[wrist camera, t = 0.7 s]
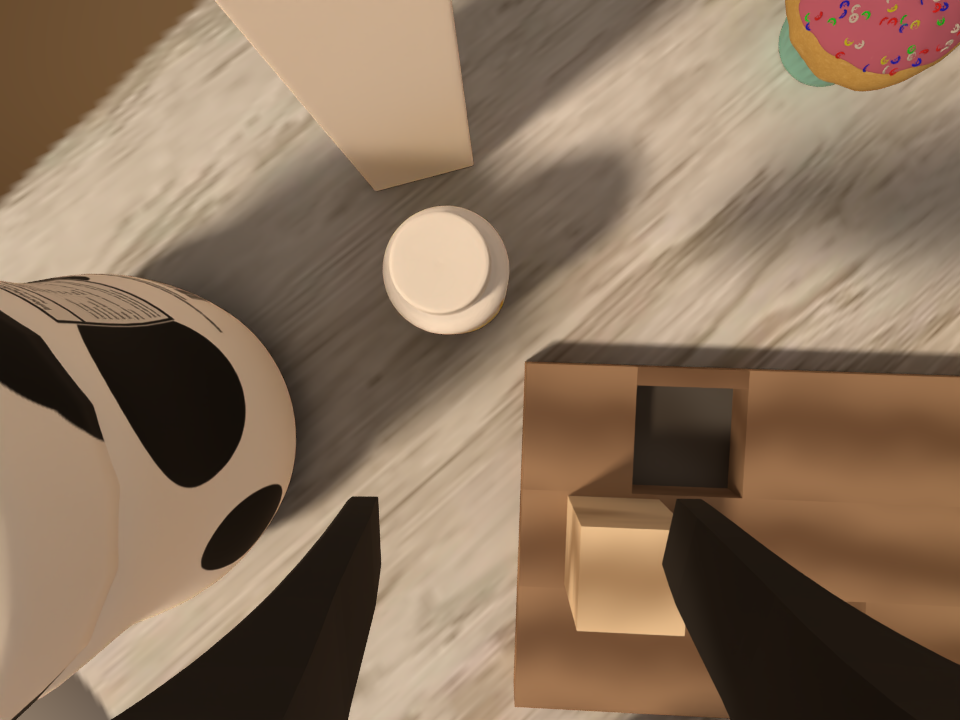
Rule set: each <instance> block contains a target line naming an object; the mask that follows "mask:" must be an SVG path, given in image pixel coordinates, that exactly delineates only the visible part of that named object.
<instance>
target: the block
mask: <svg viewBox="0 0 960 720" xmlns="http://www.w3.org/2000/svg"><path fill="white" fill-rule="evenodd" d="M672 517H673V513H672V512H671V511H670V510H669V509H668V508H667V507H666V506H665V505H664V504H663V503H662V502H661V501H660V500H659V499H636V498H611V497H587V496H568V502H567V527H566V552H565V576H564V585H565V589H566V592H567V596H568V600H569V604H570V607H571V611H572V615H573V618H574V622H575V626H576V630H577V631H588V632H608V633H628V634H648V635H669V636H685V624H684V622H683V620H682V617H681V615H680V613H679V611H678V609H677V607H676V605H675V602H674V599H673V596H672V593H671V590H670V588H669V585H668V582H667V579H666V575H665V572H664V569H663V566H662V561H663V556H664V552H665V548H666V543H667V539H668V534H669V530H670V525H671V521H672Z"/></svg>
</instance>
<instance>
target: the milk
mask: <svg viewBox="0 0 960 720" xmlns="http://www.w3.org/2000/svg"><path fill="white" fill-rule="evenodd" d="M215 1H216V3H217V4H218V5H219V6H220V7H221V9H222V10H223V11H224V12H225V13H226V14H227V16H228V17H229V18H230V19H231V20H232V22H233V23H234V24H235V25H236V26H237V27H238V29H239V30H240V31H241V32H242V33H243V35H244V36H245V37H246V38H247V39H248V41H249V42H250V43H251V44H252V45H253V46H254V48H255V49H256V50H257V51H258V52H259V54H260V55H261V56H262V57H263V58H264V60H265V61H266V62H267V63H268V64H269V65H270V67H271V68H272V69H273V70H274V71H275V73H276V74H277V75H278V76H279V77H280V79H281V80H282V81H283V82H284V83H285V84H286V86H287V87H288V88H289V89H290V90H291V92H292V93H293V94H294V95H295V96H296V97H297V99H298V100H299V101H300V102H301V103H302V105H303V106H304V107H305V108H306V109H307V111H308V112H309V113H310V114H311V115H312V116H313V118H314V119H315V120H316V121H317V122H318V124H319V125H320V126H321V127H322V128H323V130H324V131H325V132H326V133H327V134H328V135H329V137H330V138H331V139H332V140H333V141H334V143H335V144H336V145H337V146H338V147H339V149H340V150H341V151H342V152H343V153H344V154H345V156H346V157H347V158H348V159H349V160H350V162H351V163H352V164H353V165H354V166H355V167H356V169H357V170H358V171H359V172H360V173H361V175H362V176H363V177H364V178H365V179H366V181H367V182H368V183H369V184H370V185H371V186H372V188H373V189H374V190H375V191H379V190H383V189H386V188H390V187H394V186H398V185H402V184H405V183H409V182H413V181H417V180H420V179H424V178H428V177H432V176H436V175H439V174H443V173H447V172H451V171H455V170H458V169H462V168H466V167H470V166H473V156H472V148H471V141H470V133H469V126H468V119H467V111H466V104H465V96H464V89H463V82H462V74H461V67H460V59H459V52H458V45H457V37H456V30H455V22H454V15H453V8H452V0H215Z"/></svg>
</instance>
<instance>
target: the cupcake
mask: <svg viewBox="0 0 960 720" xmlns="http://www.w3.org/2000/svg"><path fill="white" fill-rule="evenodd" d="M785 5H786V15H787V17H786V20H785V22H784V24H783V26H782V29H781V32H780V36H779V53H780V57H781V60H782V63H783V65H784V67H785V68H786V70H787V71H788V72H789V73H790V74H791V76H793V77H794V78H795V79H796V80H798V81H800V82H802V83H804V84H806V85H810V86H816V87H824V86H831V85H834V84H838V85H840V86H843V87H846V88H848V89H851V90H854V91H871V90H878V89H882V88H885V87H888V86H891V85H894V84H897V83H900V82H902V81H905V80H907V79H909V78H911V77H913V76H914V75H916V74H918V73H920V72H922V71H923V70H925V69H927V68H929V67H931V66H933V65H935V64H936V63H938V62H939V61H941V60H942V59H943V58H945V57H946V56H947V55H948V54H949V53H951V52H952V51H953V50H954V49H955V48H956V47H957V46H958V45H959V44H960V0H785Z"/></svg>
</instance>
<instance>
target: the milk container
mask: <svg viewBox="0 0 960 720" xmlns="http://www.w3.org/2000/svg"><path fill="white" fill-rule="evenodd" d="M295 451H296V427H295V417H294V412H293V407H292V403H291V399H290V395H289V392H288V389H287V387H286V384H285V381H284V379H283V377H282V375H281V373H280V370H279V368H278V367H277V365H276V363H275V362H274V360H273V358H272V357H271V355H270V354H269V352H268V351H267V349H266V348H265V347H264V345H263V344H262V343H261V342H260V341H259V339H258V338H257V337H256V336H255V335H254V334H253V333H252V332H251V331H250V330H249V329H248V328H247V327H246V326H245V325H244V324H243V323H241V322H240V321H239V320H238V319H237V318H235V317H234V316H232V315H231V314H230V313H228V312H227V311H225V310H223V309H222V308H220V307H218V306H217V305H215V304H213V303H211V302H209V301H207V300H205V299H203V298H201V297H199V296H197V295H195V294H193V293H190V292H188V291H185V290H183V289H180V288H177V287H174V286H171V285H168V284H165V283H161V282H157V281H154V280H149V279H143V278H138V277H132V276H125V275H115V274H81V275H70V276H62V277H55V278H50V279H44V280H39V281H33V282H28V283H11V282H4V281H0V720H16V719H17V718H18V717H19V716H20V715H21V714H22V713H24V711H26V710H27V709H28V708H29V707H30V706H31V705H32V704H33V703H34V702H35V701H36V700H38V699H40V698H42V697H43V696H45V695H46V694H48V693H49V692H50V691H52V690H54V689H55V688H57V687H58V686H59V685H61V684H62V683H63V682H64V681H65V680H67V679H68V678H69V677H71V676H72V675H73V674H74V673H75V672H77V671H78V670H79V669H80V668H81V667H83V666H84V665H85V664H86V663H87V662H89V661H90V660H91V659H92V658H93V657H95V656H96V655H97V654H98V653H99V652H100V651H102V650H103V649H104V648H105V647H106V646H107V645H108V644H110V643H111V642H112V641H113V640H114V639H115V638H117V637H118V636H119V635H120V634H121V633H123V632H124V631H125V630H126V629H128V628H129V627H130V626H132V625H133V624H136V623H138V622H141V621H143V620H146V619H148V618H151V617H153V616H156V615H158V614H160V613H163V612H165V611H167V610H170V609H172V608H174V607H176V606H178V605H180V604H182V603H184V602H186V601H188V600H189V599H191V598H193V597H195V596H196V595H198V594H199V593H201V592H202V591H204V590H205V589H207V588H208V587H210V586H211V585H213V584H214V583H216V582H217V581H218V580H219V579H220V578H222V577H223V576H224V575H225V574H227V573H228V572H229V571H230V570H231V569H232V568H233V567H234V566H235V565H236V564H237V563H238V562H239V561H240V560H241V559H242V558H243V557H244V556H245V555H246V554H247V553H248V552H249V550H250V549H251V548H252V547H253V546H254V544H255V543H256V542H257V541H258V540H259V538H260V537H261V535H262V534H263V533H264V531H265V530H266V528H267V527H268V525H269V524H270V522H271V520H272V519H273V517H274V515H275V513H276V512H277V510H278V508H279V506H280V504H281V502H282V500H283V498H284V496H285V493H286V491H287V488H288V485H289V482H290V479H291V475H292V471H293V466H294V460H295Z"/></svg>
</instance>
